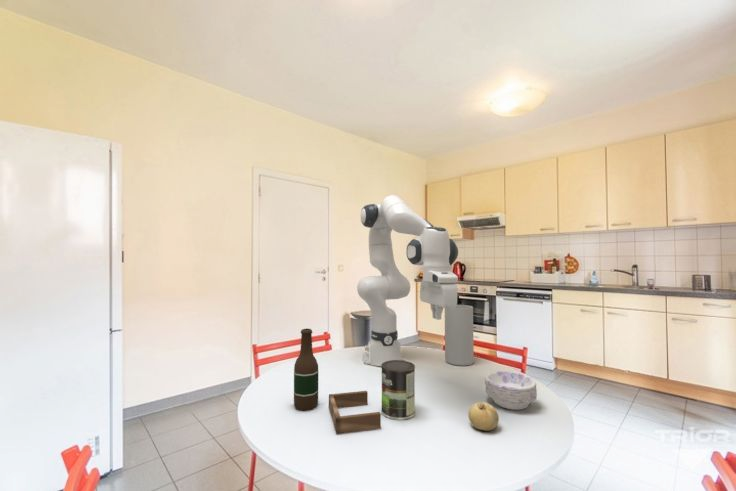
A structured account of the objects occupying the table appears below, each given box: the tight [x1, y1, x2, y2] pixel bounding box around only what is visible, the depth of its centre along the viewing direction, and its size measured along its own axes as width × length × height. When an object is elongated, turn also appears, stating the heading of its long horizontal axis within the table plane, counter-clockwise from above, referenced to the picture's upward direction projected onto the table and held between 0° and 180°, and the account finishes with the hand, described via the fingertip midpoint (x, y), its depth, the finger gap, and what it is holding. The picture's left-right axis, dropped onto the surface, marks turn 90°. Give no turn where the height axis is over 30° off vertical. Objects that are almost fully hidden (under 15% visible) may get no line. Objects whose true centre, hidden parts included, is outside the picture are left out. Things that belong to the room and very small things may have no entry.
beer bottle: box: [293, 328, 319, 412], centre depth 104 cm, size 8×8×24 cm
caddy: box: [328, 390, 382, 435], centre depth 96 cm, size 16×12×4 cm
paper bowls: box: [484, 370, 538, 411], centre depth 105 cm, size 15×15×8 cm
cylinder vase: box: [444, 304, 475, 367], centre depth 149 cm, size 12×12×25 cm
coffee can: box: [380, 360, 416, 421], centre depth 100 cm, size 10×10×14 cm
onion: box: [467, 401, 500, 431], centre depth 91 cm, size 8×8×7 cm
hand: (436, 318), depth 106 cm, fingers closed
